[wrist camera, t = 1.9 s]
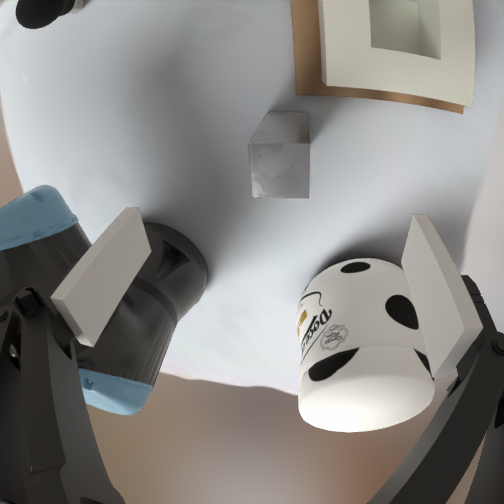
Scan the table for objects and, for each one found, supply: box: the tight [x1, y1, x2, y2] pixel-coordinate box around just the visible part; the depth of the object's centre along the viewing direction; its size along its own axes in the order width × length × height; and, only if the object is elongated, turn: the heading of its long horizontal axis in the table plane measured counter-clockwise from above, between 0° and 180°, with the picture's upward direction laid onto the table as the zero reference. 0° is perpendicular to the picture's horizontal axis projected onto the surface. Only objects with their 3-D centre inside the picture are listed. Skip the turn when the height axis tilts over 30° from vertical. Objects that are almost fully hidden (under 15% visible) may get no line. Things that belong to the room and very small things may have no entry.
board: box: [291, 0, 464, 114], centre depth 20 cm, size 18×16×1 cm
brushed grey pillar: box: [248, 112, 310, 198], centre depth 24 cm, size 4×4×12 cm
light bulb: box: [16, 0, 84, 29], centre depth 17 cm, size 6×6×10 cm
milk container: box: [297, 258, 435, 432], centre depth 34 cm, size 17×17×18 cm
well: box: [318, 0, 475, 108], centre depth 17 cm, size 13×13×6 cm
